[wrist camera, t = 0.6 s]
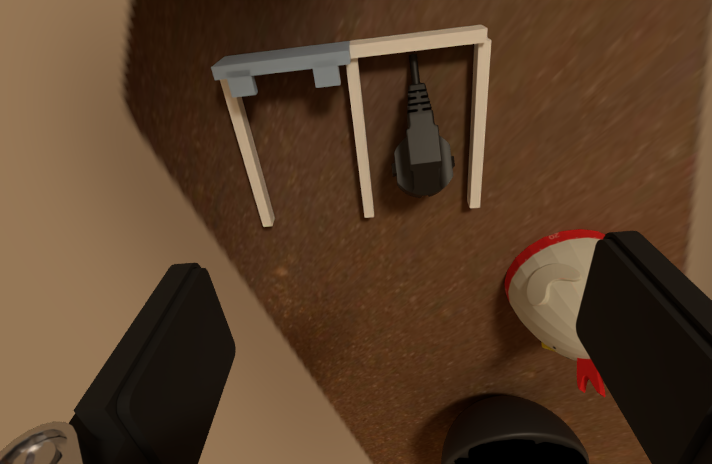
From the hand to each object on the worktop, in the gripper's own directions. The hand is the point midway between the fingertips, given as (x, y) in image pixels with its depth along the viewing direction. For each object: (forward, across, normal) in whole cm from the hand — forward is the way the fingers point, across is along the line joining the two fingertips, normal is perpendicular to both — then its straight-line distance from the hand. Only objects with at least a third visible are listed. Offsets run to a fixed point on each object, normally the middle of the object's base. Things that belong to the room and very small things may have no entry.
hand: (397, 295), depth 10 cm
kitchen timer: (+32, -21, +26) cm, 46 cm away
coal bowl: (+33, -15, +54) cm, 65 cm away
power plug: (+31, -4, +5) cm, 32 cm away
